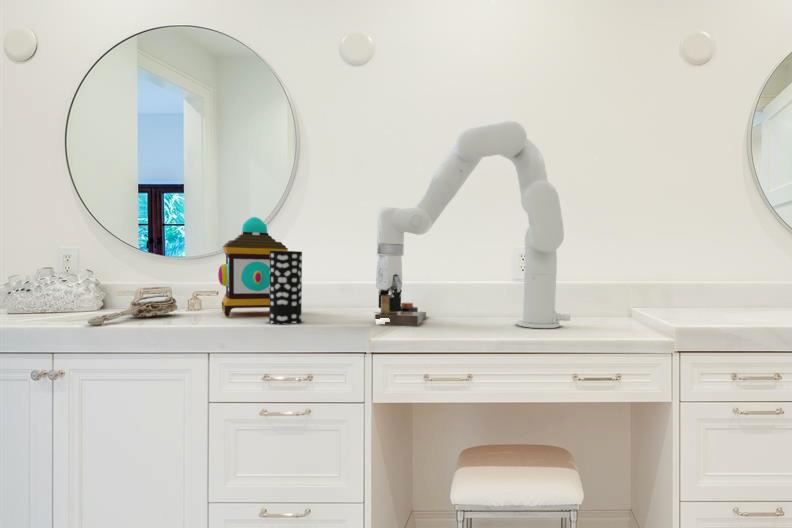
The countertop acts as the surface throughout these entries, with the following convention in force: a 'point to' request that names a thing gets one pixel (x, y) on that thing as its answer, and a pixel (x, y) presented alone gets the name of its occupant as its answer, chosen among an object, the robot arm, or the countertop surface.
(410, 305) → the button
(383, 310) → the knob
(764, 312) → the countertop surface
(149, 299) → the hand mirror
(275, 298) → the white-spotted black cylinder
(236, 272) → the decorative lantern
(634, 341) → the countertop surface
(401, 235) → the robot arm
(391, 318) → the panel
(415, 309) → the button block
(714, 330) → the countertop surface
